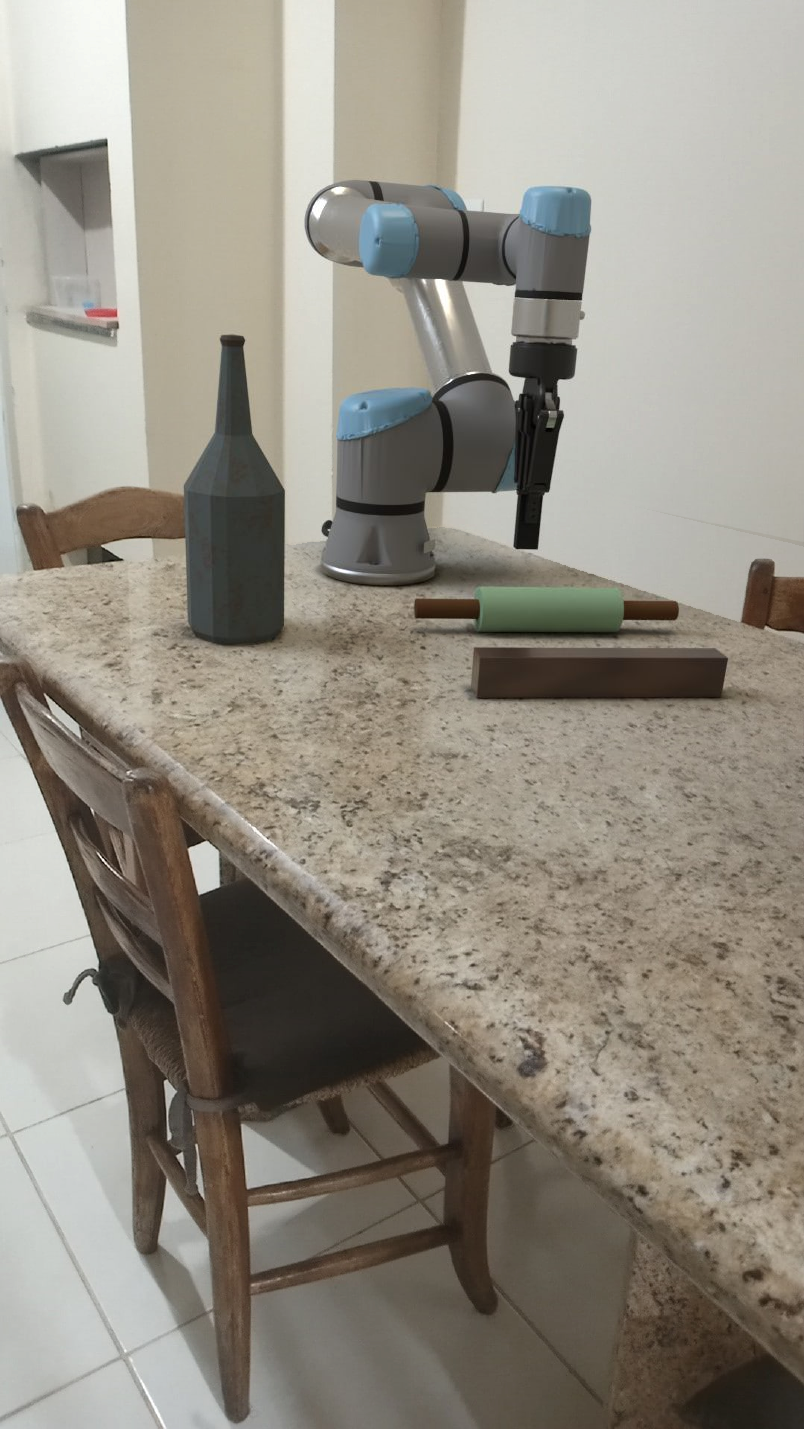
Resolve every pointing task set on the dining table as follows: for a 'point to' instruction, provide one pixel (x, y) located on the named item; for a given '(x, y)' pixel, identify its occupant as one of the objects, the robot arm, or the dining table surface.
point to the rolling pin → (546, 609)
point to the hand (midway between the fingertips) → (525, 547)
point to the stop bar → (597, 672)
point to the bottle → (234, 523)
